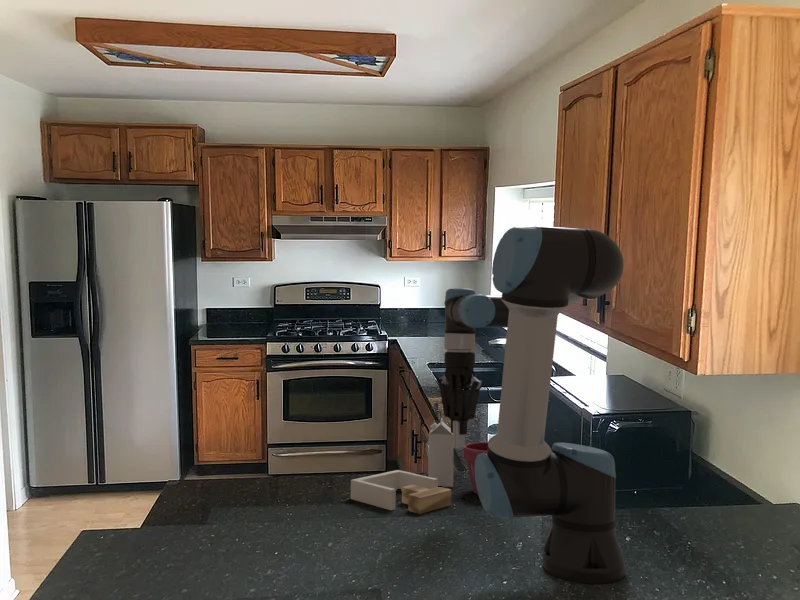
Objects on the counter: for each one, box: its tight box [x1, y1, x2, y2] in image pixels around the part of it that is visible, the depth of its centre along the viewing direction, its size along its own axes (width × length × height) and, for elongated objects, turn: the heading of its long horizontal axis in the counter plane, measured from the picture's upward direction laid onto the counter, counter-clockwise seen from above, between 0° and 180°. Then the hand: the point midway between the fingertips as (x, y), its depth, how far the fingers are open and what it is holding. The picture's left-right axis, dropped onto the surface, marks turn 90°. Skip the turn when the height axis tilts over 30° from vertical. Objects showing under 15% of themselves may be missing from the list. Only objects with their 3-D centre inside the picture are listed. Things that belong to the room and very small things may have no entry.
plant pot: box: [463, 441, 488, 495], centre depth 182 cm, size 14×14×13 cm
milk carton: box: [427, 417, 454, 488], centre depth 190 cm, size 7×7×19 cm
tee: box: [401, 485, 452, 515], centre depth 167 cm, size 10×12×4 cm
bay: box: [350, 469, 438, 511], centre depth 174 cm, size 15×18×5 cm
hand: (458, 447), depth 159 cm, fingers closed
